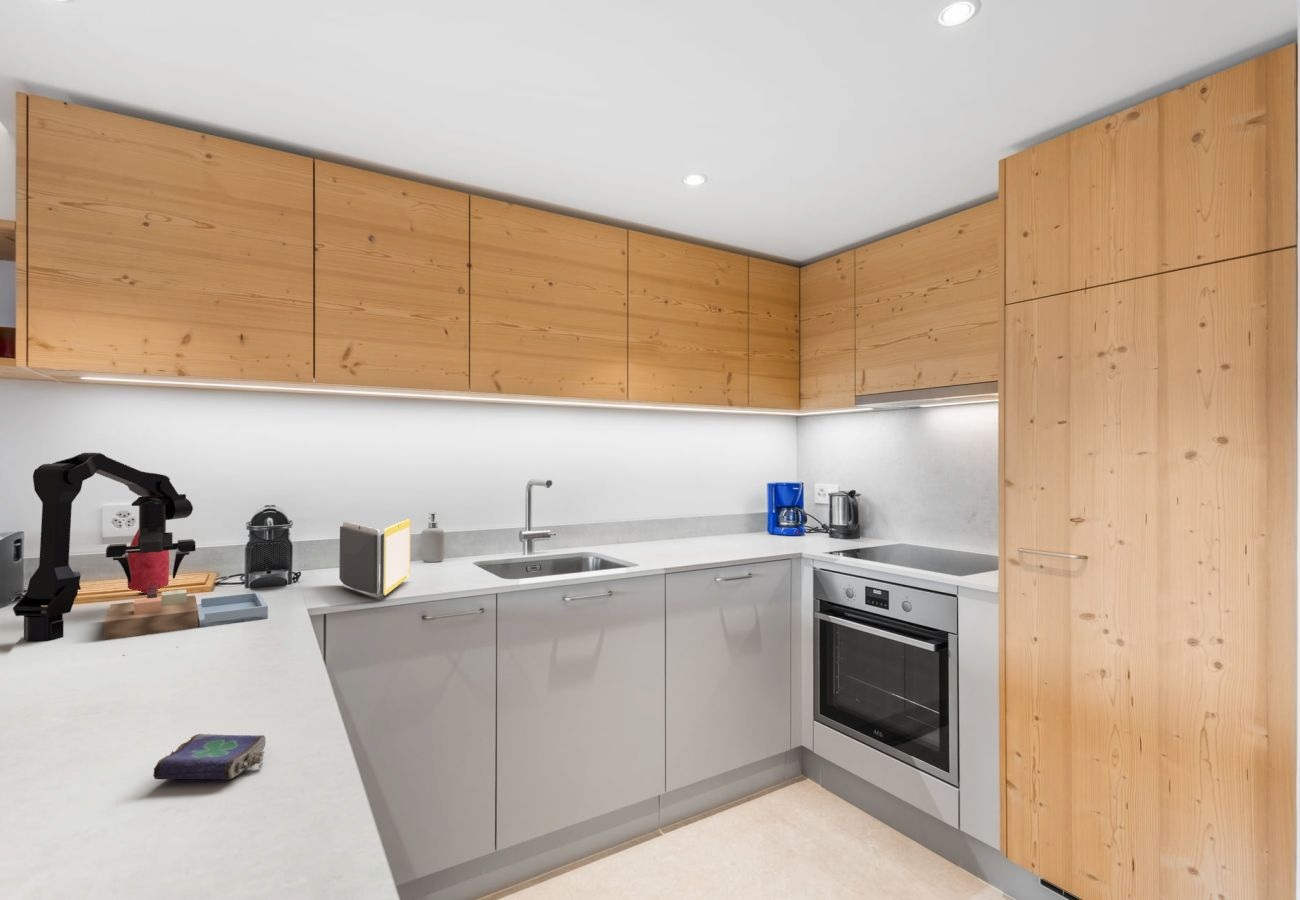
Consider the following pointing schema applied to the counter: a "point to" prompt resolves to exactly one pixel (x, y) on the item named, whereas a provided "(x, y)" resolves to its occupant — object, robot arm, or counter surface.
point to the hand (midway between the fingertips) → (152, 580)
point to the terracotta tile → (147, 605)
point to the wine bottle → (148, 568)
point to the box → (231, 609)
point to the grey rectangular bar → (152, 591)
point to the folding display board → (374, 557)
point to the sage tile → (173, 597)
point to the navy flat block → (212, 757)
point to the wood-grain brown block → (149, 619)
